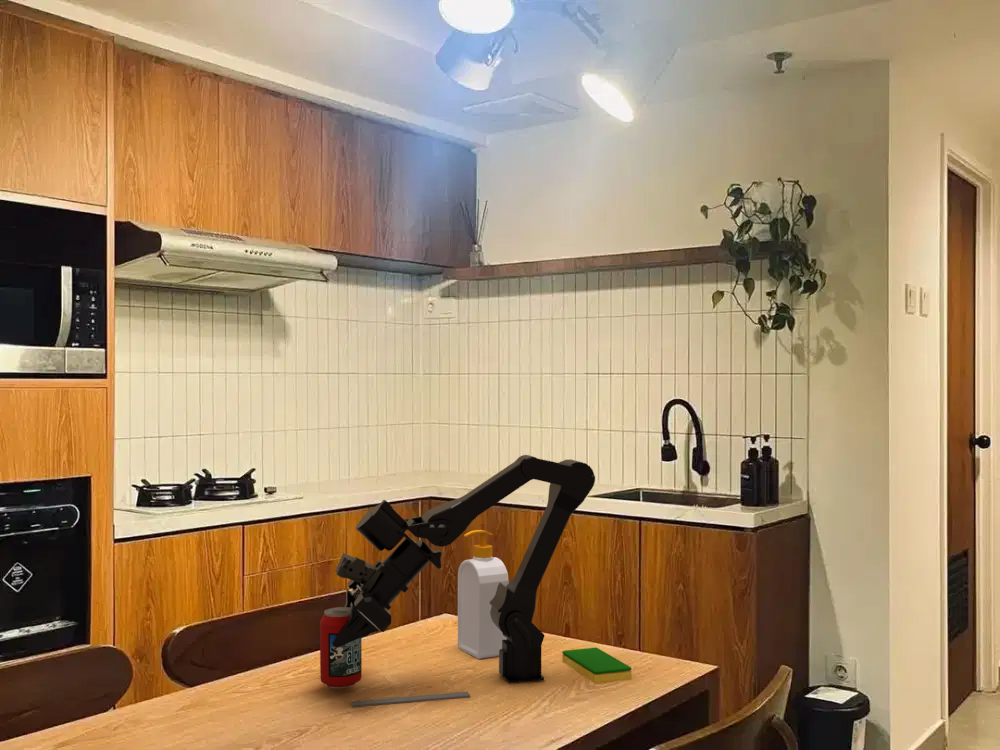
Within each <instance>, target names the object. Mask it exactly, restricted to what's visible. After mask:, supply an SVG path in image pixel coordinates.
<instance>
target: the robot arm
mask: <svg viewBox="0 0 1000 750" xmlns="http://www.w3.org/2000/svg"><path fill="white" fill-rule="evenodd" d="M532 480H536V481H540V482H545V483H549V486H548V497H547V504H546V507H545V508H544V511H543V513H542V515H541V517H540V519H539V522H538V524H537V526H536V529H535V531H534V533H533V535H532V538H531V539H530V542H529V544H528V547H526V551H525V553H524V555H523V557H522V560H521V562H520V564H519V566H518V568H517V571H516V573H515V575H514V577H512V579H511V580H510V581H509V584H508V585H507V586H505V585H503V584H502V583H499V585H498V587H497V591H496V594H495V596H494V598H493V599H492V600H491V601H490V602H489V603H490V605H491V606H492V607H491V611H490V615H491V618H492V621H493V623H494V624H495V625H496V626H497V627H498V628H499V629H500V631H501V632H502V634H503V636H505V637H506V638H507V639H506V640H502V649H500V650H499V656H498V673H499V674H500V676H501V677H502V678H503V679H504V680H505V681H506V682H507V683H508V684H515V683H516V684H517V683H519V684H520V683H528V682H540V681H541V682H542V681H543V682H544V681H545V679H546V678H545V676H544V675H543V674H542V645H543V641H544V638H545V634H544V633H543V632H542V631H541V630H540V629H539V628H538V627H537V626H536V625H535V624H534V623H533V622H532V621H533V619H534V614H535V612H536V611H535V610H536V602H537V596H538V594H537V593H538V588H539V586H540V585H541V584H540V583H541V582H542V580H543V577H544V575H545V573H546V570H547V568H548V566H549V564H550V561H551V559H552V557H553V555H554V553H555V551H556V548H557V546H558V544H559V542H560V540H561V538H562V535H563V534H564V531H565V529H566V527H567V524H568V521H569V519H570V517H571V515H572V514H573V513H574V512H575V511H576V510H577V509H578V508H579V507H580V505H581V504H583V502H584V501H585V500H586V498H587V497H588V496H589V494H590V492H591V491H592V489H593V488H594V486H595V482H596V476H595V473H594V470H593V469H592V467H591V466H590V465H588V464H587V463H586V462H582V461H578V460H574V459H571V458H570V459H564V460H562V461H560V462H557V461H551V460H548V459H547V460H546V459H541V458H538V457H536V456H532V455H529V454H523V455H520V456H519V457H517V458H516V459H515V461H514V462H512V463H511V464H509V465H508V466H506V467H505V468H503V469H501V470H500V471H498V472H497V473H495V474H494V475H493V476H491V477H490V478H488V479H487V480H485V481H483V482H482V483H481V484H479V485H477V486H476V487H474V488H473V489H472V490H470V491H469V492H467V493H466V494H464V495H462V496H460V497H458V498H456V499H453V500H449V501H447V502H444V503H440V504H439V505H437V506H434V507H432V508H430V509H429V510H426V511H425V512H424V513H423V515H420V516H414V517H409V518H405V519H404V518H403V517H402V516H401V515H400V514H399V513H398V512H397V511H396V510H395V509H394V508H393V506H392V505H391V504H390V503H389V502H388V501H387V500H386V499H383V500H381V502H380V503H378V504H377V505H376V506H374V507H373V508H372V509H371V510H368V511H367V512H366V513H365V514H364V515H363V516H362V517H361V519H360V520H359V521H358V523H357V524H356V526H355V530H356V531H358V532H359V533H360V534H361V535H362V536H363V537H364V538H365V539H366V540H367V541H368V542H369V543H370V544H371V545H372V546H373V547H374V548H376V550H378V552H381V551H384V550H386V551H388V552H390V551H392V552H390V554H389V555H388V556H387V557H386V558H385V559H384V560H378V561H376V563H375V564H374V565H373V564H370V563H368V562H366V560H365V559H361V558H359V557H358V556H355V557H354V556H351V555H350V554H346V553H342V555H341V557H340V559H339V562H338V563H337V566H336V568H335V573H336V576H338V577H339V578H342V579H348V580H349V581H348V582H347V583H346V585H347V587H348V588H349V589H348V588H346V589H345V595H346V602H345V604H344V606H343V607H350V608H351V615H350V617H349V619H348V620H347V622H346V623H345V625H344V626H343V627H342V629H341V630H340V632H339V633H338V635H337V636H336V638H335V639H334V641H333V642H332V645H333V646H334V647H336V648H338V647H340V646H343V645H345V644H347V643H349V642H352V641H354V640H356V639H358V638H361V639H362V637H365V636H368V635H370V634H373V633H378V632H379V631H380V632H382V633H384V632H385V631H386V630H387V629H388V628H389V627H390V626H391V624H392V614H391V613H390V611H389V610H390V609H391V608H392V606H391V604H392V603H393V602H394V600H396V598H398V596H399V595H400V594H402V592H403V593H406V592H407V591H408V590H409V589H410V588H409V587H408V586H409V584H410V583H411V582H412V581H413V580H414V579H415V578H416V577H417V576H418V575H419V573H420V572H422V571H423V569H424V568H425V567H426V566H427V565H428V564H430V563H431V564H432V565H433V566H435V568H437V569H441V568H442V561H441V558H442V552H441V551H440V550H439V549H436V550H433V549H432V548H431V547H430V546H429V545H428V544H427V543H426V542H425V541H424V540H423V539H426V540H427V541H428V542H429V543H430V544H432V545H433V546H435V547H436V546H437V547H441V548H442V547H443V548H444V547H448V546H449V545H451V544H452V543H454V542H455V541H456V540H457V539H458V538H459V537H460V536H461V535H462V534H463V533H464V532H465V531H466V530H467V529H468V527H469V526H470V525H471V524H472V522H474V521H475V519H476V518H477V517H479V516H480V515H481V514H483V513H484V512H486V511H487V510H490V508H492V507H493V506H495V505H496V504H498V503H499V502H501V501H502V500H503V499H505V498H506V497H508V496H509V495H511V494H512V493H514V492H515V491H516V490H518V489H520V488H521V487H523V486H524V485H525V484H528V483H529V482H530V481H532ZM407 531H409V532H410V533H411V534H412V536H414V537H415V538H418V539H419V538H420V540H418V541H414V540H413V539H412V538H411V537H410V536H409V535H408V534H407V533H406V532H407ZM350 589H351V590H350Z"/></svg>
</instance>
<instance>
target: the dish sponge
mask: <svg viewBox="0 0 1000 750" xmlns="http://www.w3.org/2000/svg"><path fill="white" fill-rule="evenodd" d="M561 656H562V657H561V658H562V661H561V662H562V663H563V664H565V665H567V666H568V667H569V668H570V669H572V670H574V671H576V672H577V673H578V674H580V675H582V676H583V677H585V678H586V679H588V680H589V681H590V682H592V683H594V684H603V683H610V682H618V681H627V680H632V667H631V666H629V665H628V664H626V663H624V662H623V661H621V660H619V659H617V658H616V657H614V656H612V655H611V654H609V653H607V652H605V651H603V650H602V649H600V648H598V647H596V646H595V647H587V648H586V647H584V648H577V649H569V650H567V649H566V650H563V651H562V655H561Z"/></svg>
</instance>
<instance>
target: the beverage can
mask: <svg viewBox="0 0 1000 750" xmlns="http://www.w3.org/2000/svg"><path fill="white" fill-rule="evenodd" d="M323 612H324V613H323V615H322V617H321V619H320V622H319V659H320V660H319V663H320V664H319V665H320V667H319V669H320V672H319V673H320V676H319V677H320V682H321V683H322V684H323V685H325V686H327V687H328V688H332V689H345V688H350V687H353V686H355V685H356V684H357V683H359V682H360V681H361V679H362V671H363V670H362V669H363V668H362V664H363V663H362V661H363V660H362V649H363V648H362V637H361V638H358V639H356V640H354V641H352V642H349V643H347V644H345V645H343V646H340V647H338V648H336V647H334V646H333V645H332V642H333V641H334V639H335V638H336V636H337V635H338V633H339V632H340V630H341V629H342V627H343V626H344V625H345V623H346V622H347V620H348V619H349V617H350V615H351V608H350V607H344V606H340V607H339V606H338V607H331V608H328V609H325V610H323Z"/></svg>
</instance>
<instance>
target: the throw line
mask: <svg viewBox="0 0 1000 750" xmlns="http://www.w3.org/2000/svg"><path fill="white" fill-rule="evenodd" d="M465 698H466V699H467V698H471V695H470V693H469V692H468V691H459V692H458V691H457V692H446V693H445V692H444V693H433V694H420V695H410V696H409V695H408V696H407V695H406V696H398V697H397V696H395V697H385V698H374V699H373V698H372V699H371V698H370V699H361V700H351V701H350V705H351V708H356V707H357V708H358V707H360V708H361V707H369V706H380V705H381V706H382V705H394V704H405V703H417V702H427V701H428V702H430V701H441V700H451V699H452V700H453V699H465Z"/></svg>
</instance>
